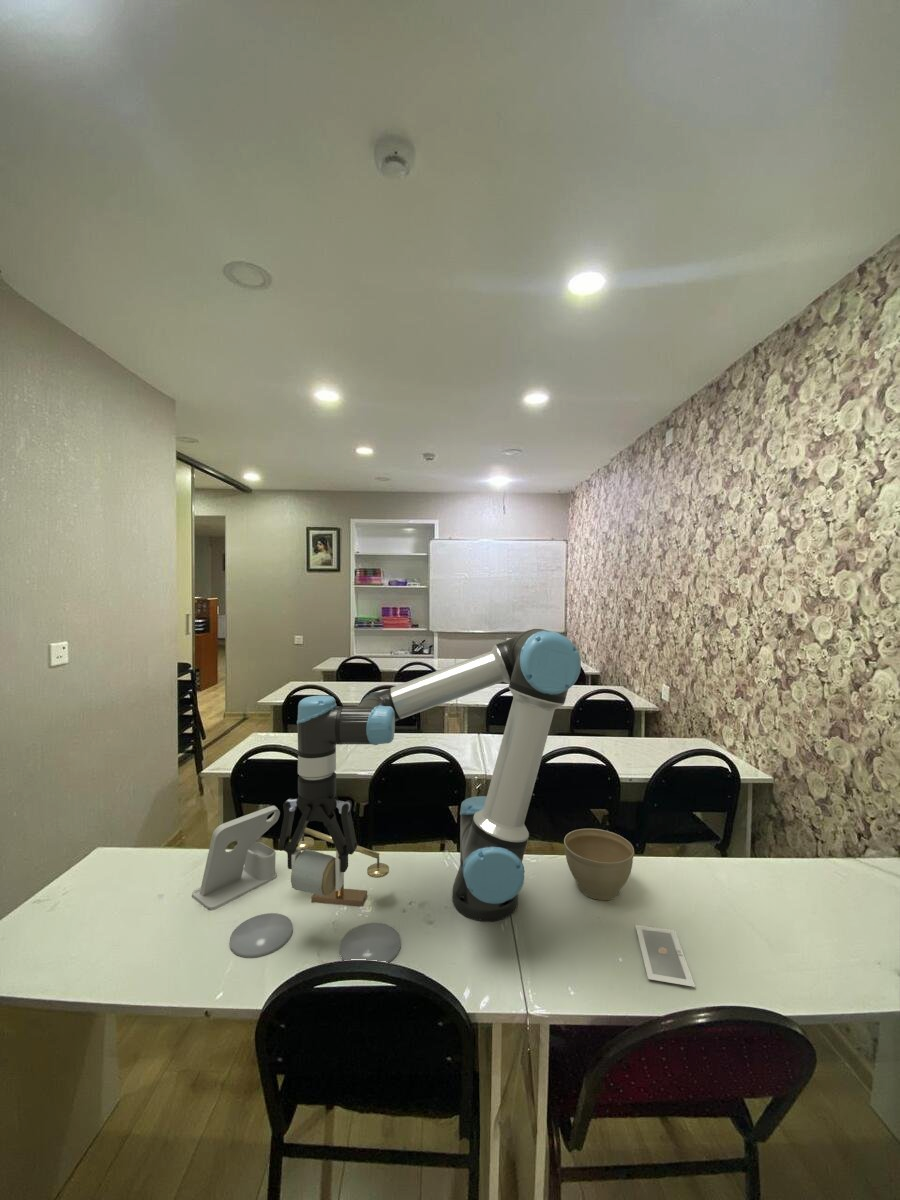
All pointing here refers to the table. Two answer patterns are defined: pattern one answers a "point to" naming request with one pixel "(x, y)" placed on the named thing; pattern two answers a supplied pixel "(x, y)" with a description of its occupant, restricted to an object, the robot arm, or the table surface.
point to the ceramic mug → (314, 873)
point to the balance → (343, 895)
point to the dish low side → (371, 943)
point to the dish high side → (261, 935)
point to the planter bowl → (599, 861)
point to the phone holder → (238, 860)
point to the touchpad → (663, 956)
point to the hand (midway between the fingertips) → (318, 885)
